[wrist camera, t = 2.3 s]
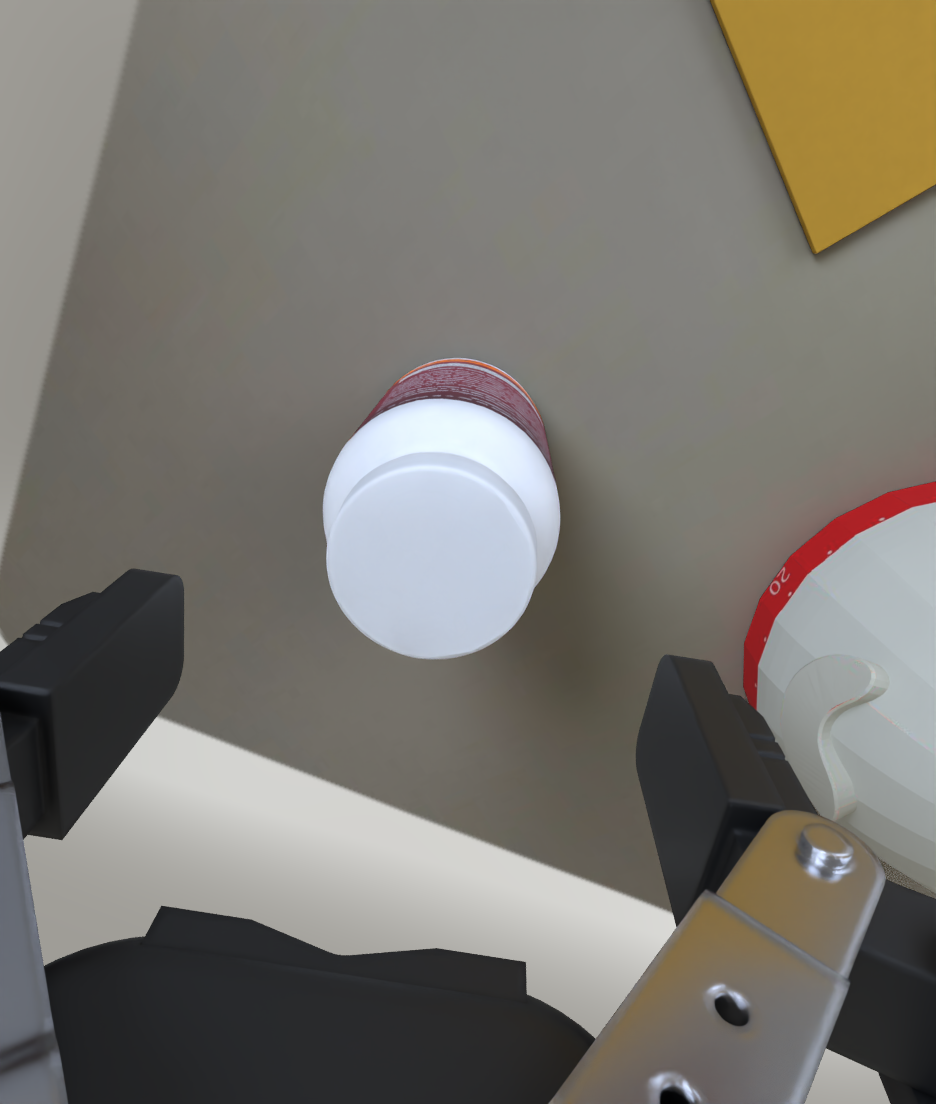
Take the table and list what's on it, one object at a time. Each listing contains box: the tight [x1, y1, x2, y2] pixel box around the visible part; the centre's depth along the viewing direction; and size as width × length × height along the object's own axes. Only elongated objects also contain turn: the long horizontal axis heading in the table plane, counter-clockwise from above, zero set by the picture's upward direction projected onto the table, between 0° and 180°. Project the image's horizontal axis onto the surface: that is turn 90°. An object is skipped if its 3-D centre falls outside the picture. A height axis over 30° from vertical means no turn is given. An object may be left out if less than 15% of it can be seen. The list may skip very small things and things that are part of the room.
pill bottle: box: [323, 358, 560, 659], centre depth 21 cm, size 6×6×11 cm
